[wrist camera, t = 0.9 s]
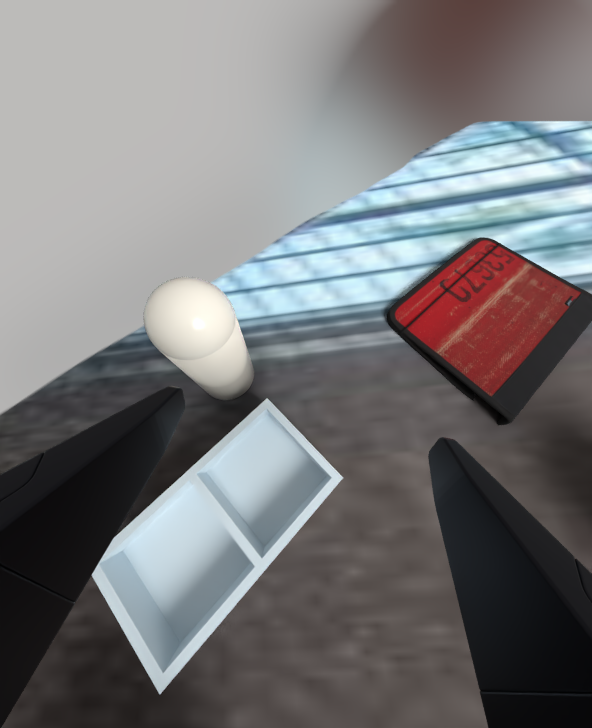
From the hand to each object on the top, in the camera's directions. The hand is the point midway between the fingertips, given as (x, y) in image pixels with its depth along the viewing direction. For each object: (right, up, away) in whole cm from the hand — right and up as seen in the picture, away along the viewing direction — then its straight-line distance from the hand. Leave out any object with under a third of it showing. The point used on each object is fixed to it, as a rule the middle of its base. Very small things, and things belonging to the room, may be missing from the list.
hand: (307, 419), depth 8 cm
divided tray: (-6, -10, +12) cm, 16 cm away
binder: (+22, +7, +21) cm, 31 cm away
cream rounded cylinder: (-7, +1, +16) cm, 17 cm away
